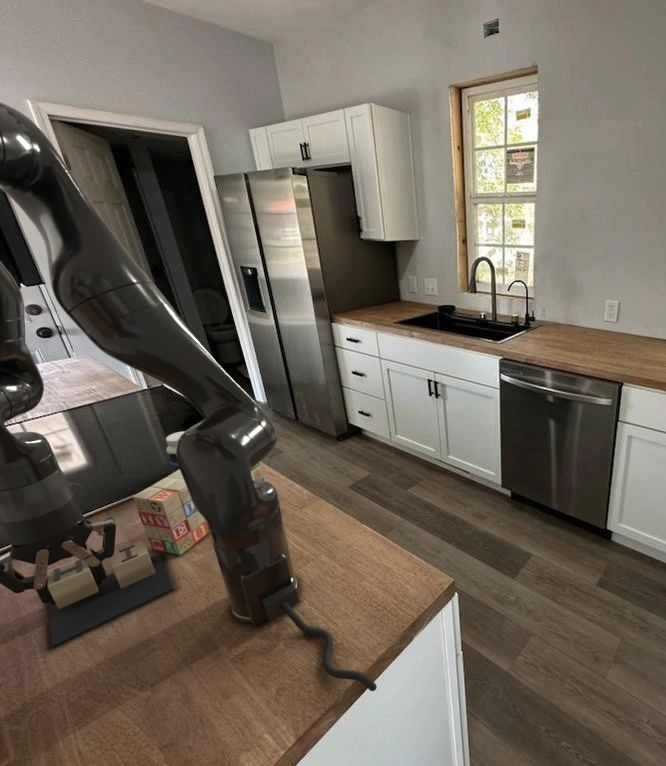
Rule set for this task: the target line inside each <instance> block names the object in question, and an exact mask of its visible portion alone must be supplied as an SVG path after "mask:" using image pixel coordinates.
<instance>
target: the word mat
mask: <svg viewBox="0 0 666 766" xmlns="http://www.w3.org/2000/svg"><path fill="white" fill-rule="evenodd" d="M150 559H151V562H152V564H153V567H154V570H155V574H153V575H151V576H149V577H146V578H144V579H142V580H140V581H137V582H135V583H133V584H131V585H128V586H126V587H124V588H122V589H121V588H120V585H119V583H118V580H117V578H116V576H115V573H114V572H113V573H111V574H109V575H106V579H104V580H102V582H103V583H102V584H100V585H98V590H99V592H97V593H95V594H92V595H90V596H88V597H86V598H83V599H81V600H79V601H76V602H74V603H72V604H70V605H67V606H65V607H63V608H60V609H58V607H57V605H56V603H55V604H53V605H51V604H50V602H49V603H48V605H49V607H48V609H49V626H50V643H51V644H50V646H51V648H52V649H53V648H55V647H58V646H61V645H62V644H64V643H66V642H68V641H70V640H72V639H74V638H77V637H78V636H81V635H83V634H84V633H87V632H89V631H91V630H93V629H95V628H97V627H100V626H102V625H103V624H105V623H108V622H110V621H112V620H114V619H116V618H118V617H121V616H122V615H125V614H126V613H128V612H130V611H133V610H135V609H137V608H139V607H141V606H144V605H146V604H147V603H149V602H151V601H154V600H156V599H158V598H160V597H162V596H164V595H166V594H168V593H171V592H172V591H174V590H175V589H174V586H173V583H172V581H171V579H170V576H169V574H168V570H167V568H166V565H165V563H164V560H163V557H162V555H161V553H158V554H156V555H153V556H150Z"/></svg>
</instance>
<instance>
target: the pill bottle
mask: <svg viewBox="0 0 666 766" xmlns="http://www.w3.org/2000/svg"><path fill="white" fill-rule="evenodd" d="M185 431H186V430H185ZM185 431H183V430H182V431H177V432H173V433H170V434H168V436H166V438H165V442H166V444H167V445H168V446H167V447H166V453H167V457H168V460H169V463H170V466H171V470H172V473H174V472H176V471H177V470H179V469H180V468H179V466H178V462H177V457H176V445H177V441H178V439H179V437H180V436H181V435H182V434H183V433H184V432H185Z"/></svg>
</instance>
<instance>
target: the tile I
mask: <svg viewBox="0 0 666 766" xmlns="http://www.w3.org/2000/svg"><path fill="white" fill-rule="evenodd" d="M150 558H151V556H150V553H149V551H148V549H147V546H146V543H145V540H140V541H137V542H134V543H132V544H130V545H127V546H125V547H122V548H120V549H117V550H114V555H113V556H112V557H110V558H109V561H110V565H111V568H112V571H113V573H115V576H116V578H117V580H118V583H119V585H120V588H121V589H122V588H124V587H126V586H128V585H131V584H133V583H135V582H137V581H140V580H142V579H144V578H146V577H149V576H151V575H153V574H155V570H154V567H153V564H152V562H151V559H150Z"/></svg>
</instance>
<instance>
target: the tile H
mask: <svg viewBox="0 0 666 766" xmlns="http://www.w3.org/2000/svg"><path fill="white" fill-rule="evenodd" d="M46 578H47V585H48V589H49V591H50V593H51V595H52V597H53V599H54V601H55V603H56V605H57V607H58V609H60V608H63V607H65V606H67V605H70V604H72V603H74V602H76V601H79V600H81V599H83V598H86V597H88V596H90V595H92V594H95V593H97V592H99V590H98V586H97V584H96V582H95V579H94V577H93V575H92V573H91V570H90V566H89V565H88V564H87V563H85V562H84V561H81V560H79V559H78V558H76V559H74V560H72V561H69V562H67V563H64V564H61V565H59V566H55V567H53V568H51V569H47V577H46Z"/></svg>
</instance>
